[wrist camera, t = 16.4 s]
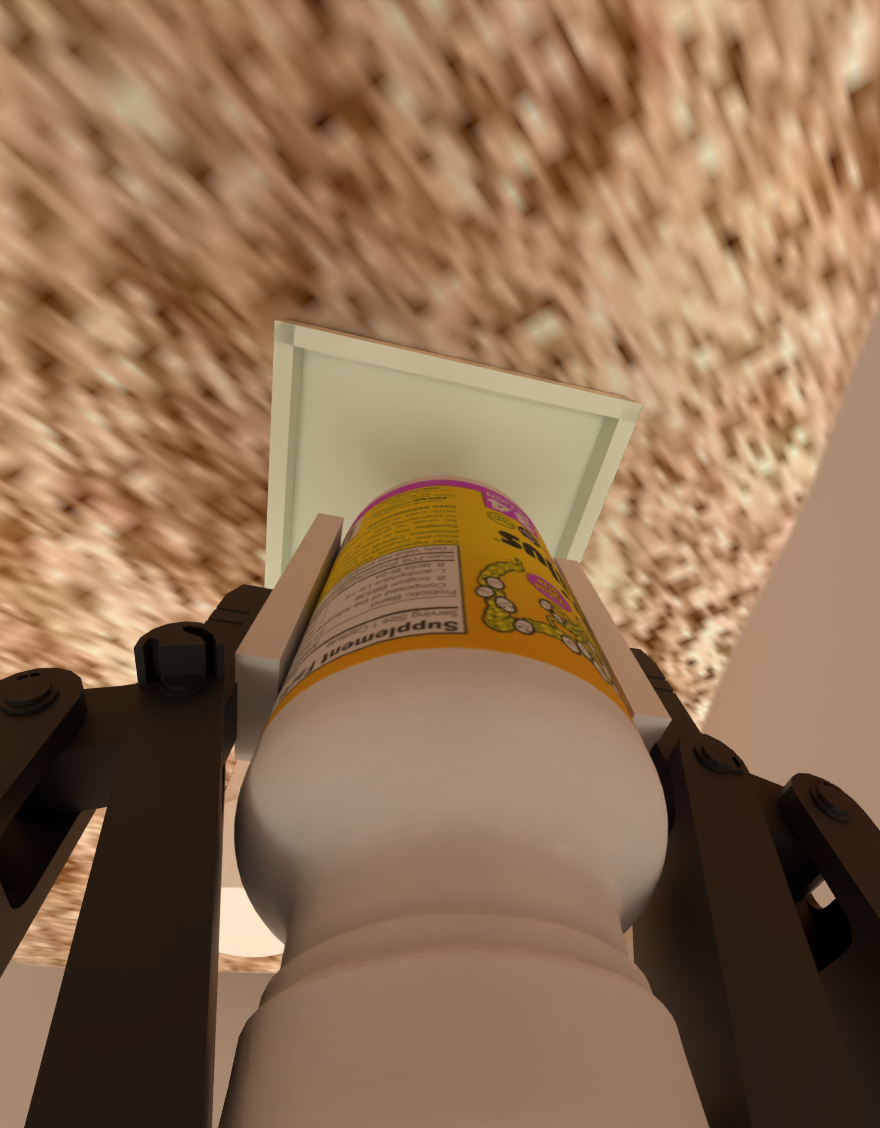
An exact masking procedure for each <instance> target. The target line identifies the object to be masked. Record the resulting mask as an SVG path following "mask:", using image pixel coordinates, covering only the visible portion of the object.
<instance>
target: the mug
mask: <svg viewBox="0 0 880 1128" xmlns="http://www.w3.org/2000/svg"><path fill="white" fill-rule="evenodd" d="M250 762H251V761H243V760H237V762H236V765H235V767H234V770H233V773H232V775H231V778H230V781H229V783H228V786H227V789H226V791H225V801H224V827H223V853H222V878H221V904H220V930H219V952H220V953H224V954H229V955H235V956H245V957H262V956H271V955H276V954H281V953H283V952H284V947H285V945H284V944H283V943H282V942H281V941H280V940H278V939H277V938H276V937H275V936H274V935H273V934H272V933H271V931H270V930H269V929H268V928H267V926H266V925H265V924H264V922H263V921H262V920H261V918H260V917H259V915H258V914H257V913H256V911H255V909H254V908H253V906H252V904H251V902H250V900H249V898H248V896H247V894H246V892H245V889H244V887H243V885H242V882H241V878H240V875H239V871H238V867H237V861H236V855H235V846H234V819H235V813H236V807H237V801H238V796H239V792H240V788H241V786H242V783H243V780H244V777H245V774H246V771H247V769H248V766H249V764H250Z"/></svg>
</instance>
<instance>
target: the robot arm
mask: <svg viewBox="0 0 880 1128" xmlns="http://www.w3.org/2000/svg"><path fill="white" fill-rule="evenodd" d="M343 521H344V518H343V517H338V516H333V515H327V514H322V513H318V515H317V516H316V518H315V520H314V521H313V523H312V525H311V526H310V528H309V530H308V531H307V533H306V535H305V537H304V538H303V540H302V542H301V543H300V545H299V547H298V548H297V550H296V552H295V553H294V555H293V557H292V558H291V560H290V562H289V563H288V565H287V567H286V568H285V570H284V572H283V574H282V575H281V577H280V579H279V580H278V582H277V584H276V585H275V587H274V589H269V588H263V587H257V586H251V585H245V584H243V585H242V586H240V587H238V588H236V589H235V590H233V591H231V592H229V593H227V594H226V595H225V597H224V598H223V599H222V601H221V602H220V603H219V605H218V606H217V609H216V610H214V611H213V613H212V614H211V615H210V617H209V619H208V621H206V622H205V623H204V624H203V623H198V622H178V623H170V624H166V625H163V626H160V627H158V628H155V629H152V630H151V631H149V632H148V633H146V634H145V635H143V636H142V637H141V638H140V639H139V640H138V642H137V644H136V645H135V647H134V654H135V662H136V670H137V678H138V683H136V684H130V685H124V686H115V687H103V688H91V689H83V685H82V681H81V678H80V677H79V676H77V675H76V674H75V673H73V672H72V671H69V670H64V669H60V668H37V669H33V670H28V671H24V672H20V673H16V674H14V675H11V676H9V677H7V678H5V679H2V680H0V977H1V976H2V974H3V972H4V970H5V969H6V967H7V965H8V963H9V962H10V960H11V958H12V956H13V955H14V953H15V951H16V949H17V948H18V946H19V944H20V942H21V941H22V939H23V937H24V935H25V934H26V932H27V930H28V928H29V927H30V925H31V923H32V921H33V919H34V918H35V916H36V914H37V912H38V911H39V909H40V907H41V905H42V904H43V902H44V900H45V898H46V897H47V895H48V893H49V891H50V890H51V888H52V886H53V884H54V883H55V881H56V879H57V877H58V876H59V874H60V872H61V870H62V869H63V867H64V865H65V863H66V862H67V860H68V858H69V856H70V855H71V853H72V851H73V849H74V847H75V846H76V844H77V842H78V840H79V839H80V837H81V835H82V833H83V832H84V830H85V828H86V826H87V825H88V823H89V821H90V819H91V818H92V816H93V814H94V812H95V811H96V809H97V808H103V807H107V810H106V813H105V817H104V821H103V825H102V829H101V833H100V837H99V840H98V844H97V848H96V852H95V856H94V860H93V864H92V868H91V871H90V875H89V879H88V883H87V887H86V891H85V895H84V898H83V902H82V906H81V910H80V914H79V918H78V922H77V926H76V929H75V933H74V937H73V941H72V945H71V949H70V953H69V956H68V960H67V964H66V968H65V972H64V976H63V980H62V984H61V988H60V992H59V995H58V999H57V1003H56V1007H55V1011H54V1014H53V1019H52V1022H51V1026H50V1030H49V1034H48V1038H47V1042H46V1046H45V1050H44V1053H43V1057H42V1061H41V1065H40V1069H39V1073H38V1076H37V1081H36V1084H35V1088H34V1092H33V1096H32V1100H31V1104H30V1108H29V1111H28V1115H27V1119H26V1123H25V1127H24V1128H212V1111H213V1084H214V1059H215V1033H216V1007H217V982H218V980H217V979H218V956H219V930H220V904H221V878H222V853H223V827H224V801H225V762H226V760H227V758H228V756H229V754H230V751H231V749H232V747H233V745H234V743H235V760H243V761H251V760H252V757H253V754H254V752H255V749H256V746H257V743H258V741H259V739H260V736H261V734H262V732H263V730H264V727H265V725H266V724H267V721H268V719H269V716H270V714H271V712H272V709H273V707H274V704H275V702H276V700H277V697H278V695H279V693H280V691H281V689H282V686H283V684H284V682H285V679H286V677H287V674H288V672H289V670H290V667H291V665H292V662H293V660H294V658H295V655H296V653H297V650H298V648H299V645H300V643H301V641H302V638H303V636H304V634H305V631H306V629H307V626H308V624H309V621H310V619H311V616H312V614H313V612H314V609H315V607H316V605H317V602H318V600H319V597H320V594H321V592H322V590H323V587H324V585H325V583H326V580H327V578H328V576H329V573H330V571H331V568H332V566H333V564H334V561H335V559H336V556H337V554H338V551H339V549H340V546H341V538H342V530H343ZM554 563H555V565H556V567H557V569H558V570H559V572H560V575H561V577H562V578H563V580H564V583H565V585H566V587H567V589H568V591H569V593H570V595H571V597H572V599H573V601H574V603H575V605H576V607H577V609H578V611H579V614H580V616H581V618H582V620H583V622H584V624H585V626H586V628H587V630H588V632H589V634H590V636H591V638H592V640H593V642H594V644H595V646H596V648H597V650H598V652H599V654H600V656H601V658H602V660H603V662H604V664H605V666H606V668H607V670H608V672H609V674H610V676H611V678H612V680H613V682H614V685H615V687H616V689H617V691H618V693H619V695H620V697H621V698H622V700H623V702H624V704H625V706H626V708H627V710H628V712H629V714H630V716H631V718H632V720H633V722H634V724H635V726H636V728H637V730H638V732H639V734H640V736H641V738H642V740H643V742H644V745H645V747H646V749H647V751H648V753H649V755H650V757H651V759H652V761H653V764H654V766H655V768H656V771H657V774H658V777H659V779H660V782H661V785H662V788H663V793H664V798H665V803H666V808H667V816H668V840H667V849H666V855H665V861H664V865H663V869H662V872H661V876H660V879H659V882H658V884H657V887H656V889H655V891H654V893H653V895H652V897H651V899H650V901H649V903H648V904H647V906H646V908H645V909H644V910H643V912H642V913H641V914H640V916H639V917H638V918H637V920H636V921H635V922H634V923H633V924H632V925H633V948H634V963H635V964H636V965H637V967H638V968H639V969H640V970H641V971H642V973H643V974H644V975H645V977H646V979H647V981H648V983H649V985H650V988H651V991H652V993H653V995H654V996H655V997H656V998H657V999H658V1000H659V1001H660V1002H662V1003H663V1005H664V1006H665V1007H666V1009H667V1010H668V1011H669V1013H670V1014H671V1015H672V1017H673V1019H674V1021H675V1023H676V1025H677V1029H678V1032H679V1035H680V1039H681V1042H682V1046H683V1049H684V1053H685V1056H686V1059H687V1062H688V1065H689V1068H690V1071H691V1074H692V1077H693V1080H694V1083H695V1086H696V1089H697V1092H698V1095H699V1098H700V1101H701V1104H702V1107H703V1110H704V1113H705V1116H706V1119H707V1122H708V1125H709V1128H880V830H879V829H878V828H877V827H876V826H875V824H874V823H873V821H872V820H871V819H870V818H869V816H868V815H867V814H866V813H865V812H864V810H863V809H862V808H861V807H860V806H859V805H858V804H857V803H856V802H855V801H854V800H853V799H852V798H851V797H850V796H848V795H847V794H846V793H844V792H843V791H842V790H841V789H840V788H839V787H837V786H836V785H834V784H831V783H830V782H828V781H826V780H824V779H822V778H819V777H817V776H814V775H811V774H806V773H798V774H796V775H794V776H793V777H792V778H791V779H790V780H789V781H788V783H787V784H786V785H785V786H784V787H783V786H781V785H778V784H776V783H773V782H771V781H768V780H766V779H763V778H760V777H758V776H755V775H753V774H750V773H749V771H748V769H747V767H746V766H745V764H744V762H743V761H742V760H741V759H740V757H739V756H738V755H737V754H736V753H735V752H734V751H733V750H732V749H730V748H729V747H727V746H726V745H725V744H723V743H722V742H721V741H719V740H717V739H715V738H713V737H711V736H709V735H706V734H702V733H700V731H699V729H698V728H697V726H696V725H695V723H694V722H693V720H692V719H691V717H690V716H689V714H688V712H687V711H686V709H685V708H684V706H683V705H682V703H681V702H680V700H679V698H678V697H677V695H676V694H675V693H673V689H672V688H671V686H670V685H669V683H668V681H665V677H664V675H663V674H662V672H661V671H660V669H659V667H658V666H657V664H656V663H655V662H654V661H653V660H652V659H650V658H649V657H648V656H647V655H646V654H645V653H644V652H643V651H642V650H640V649H634V648H629V647H628V645H627V643H626V642H625V640H624V638H623V636H622V635H621V633H620V631H619V630H618V628H617V626H616V625H615V623H614V621H613V620H612V618H611V616H610V615H609V613H608V611H607V610H606V608H605V606H604V605H603V603H602V601H601V599H600V598H599V596H598V594H597V593H596V591H595V589H594V588H593V586H592V584H591V583H590V581H589V579H588V578H587V576H586V574H585V573H584V571H583V569H582V568H581V566H580V564H579V562H578V561H573V560H568V559H563V558H557V557H555V559H554ZM824 880H825V881H826V883H827V884H828V886H829V888H830V890H831V891H832V893H833V894H834V896H835V898H836V899H835V900H833V901H832V902H831V903H830V904H829V905H828V906H827V907H825V908H822V907H821V906H819V904H818V903H817V902H816V900H815V899H814V897H813V895H812V894H811V892H812V891H813V890H814V889H815V888H816V887H818V886H819V885H820V884H821V883H822V882H823V881H824Z"/></svg>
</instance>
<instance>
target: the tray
mask: <svg viewBox="0 0 880 1128" xmlns="http://www.w3.org/2000/svg"><path fill="white" fill-rule="evenodd" d="M642 407H643V404H641V403H639V402H636V401H634V400H631V399H629V398H627V397H624V396H619V395H615V394H610V393H606V392H602V391H597V390H593V389H589V388H584V387H580V386H576V385H571V384H567V383H563V382H558V381H554V380H549V379H545V378H541V377H536V376H532V375H528V374H523V373H519V372H515V371H510V370H506V369H502V368H497V367H493V366H489V365H484V364H480V363H475V362H471V361H467V360H462V359H458V358H454V357H449V356H445V355H441V354H436V353H432V352H428V351H423V350H419V349H414V348H410V347H406V346H401V345H397V344H393V343H388V342H384V341H380V340H375V339H371V338H367V337H362V336H358V335H354V334H349V333H345V332H340V331H336V330H332V329H327V328H323V327H319V326H314V325H310V324H306V323H301V322H297V321H293V320H275V321H274V348H273V375H272V402H271V429H270V456H269V483H268V509H267V536H266V563H265V588H269V589H274V587H275V585H276V584H277V582H278V580H279V579H280V577H281V575H282V574H283V572H284V570H285V568H286V567H287V565H288V563H289V562H290V560H291V558H292V557H293V555H294V553H295V552H296V550H297V548H298V547H299V545H300V543H301V542H302V540H303V538H304V537H305V535H306V533H307V531H308V530H309V528H310V526H311V525H312V523H313V521H314V520H315V518H316V516H317V515H318V513H322V514H327V515H333V516H338V517H343V518H344V521H343V530H342V538H341V545H342V542H343V540H344V538H345V536H346V534H347V532H348V531H349V529H350V527H351V525H352V524H353V522H354V520H355V519H356V518H357V516H358V515H359V514H360V512H361V511H362V510H363V509H364V508H365V507H366V506H367V505H368V504H369V503H370V502H371V501H373V500H374V499H375V498H376V497H378V496H379V495H381V494H382V493H384V492H385V491H387V490H389V489H391V488H393V487H395V486H397V485H399V484H401V483H403V482H406V481H408V480H412V479H415V478H419V477H425V476H435V475H451V476H461V477H465V478H470V479H474V480H478V481H480V482H483V483H486V484H488V485H490V486H492V487H494V488H496V489H498V490H500V491H501V492H503V493H504V494H506V495H507V496H509V497H510V498H511V499H513V500H514V501H515V502H516V503H517V504H518V505H519V506H520V507H521V508H522V509H523V510H524V511H525V512H526V514H527V515H528V516H529V518H530V519H531V520H532V522H533V523H534V525H535V527H536V528H537V530H538V532H539V534H540V535H541V537H542V539H543V541H544V543H545V545H546V547H547V549H548V551H549V553H550V555H551V557H552V559H553V561H554V559H555V557H557V558H563V559H568V560H573V561H578V562H579V564H580V562H581V560H582V557H583V555H584V552H585V550H586V547H587V545H588V542H589V540H590V537H591V535H592V532H593V530H594V527H595V525H596V522H597V520H598V517H599V515H600V512H601V510H602V507H603V505H604V502H605V500H606V497H607V495H608V492H609V490H610V487H611V485H612V482H613V480H614V477H615V475H616V472H617V470H618V467H619V465H620V462H621V460H622V457H623V454H624V452H625V449H626V447H627V444H628V442H629V439H630V437H631V434H632V432H633V429H634V427H635V424H636V422H637V419H638V417H639V414H640V412H641V409H642ZM340 547H341V546H340Z"/></svg>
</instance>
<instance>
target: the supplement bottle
mask: <svg viewBox="0 0 880 1128" xmlns="http://www.w3.org/2000/svg"><path fill="white" fill-rule="evenodd" d="M667 840H668V816H667V808H666V803H665V798H664V793H663V788H662V785H661V782H660V779H659V777H658V774H657V771H656V768H655V766H654V764H653V761H652V759H651V757H650V755H649V753H648V751H647V749H646V747H645V745H644V742H643V740H642V738H641V736H640V734H639V732H638V730H637V728H636V726H635V724H634V722H633V720H632V718H631V716H630V714H629V712H628V710H627V708H626V706H625V704H624V702H623V700H622V698H621V697H620V695H619V693H618V691H617V689H616V687H615V685H614V682H613V680H612V678H611V676H610V674H609V672H608V670H607V668H606V666H605V664H604V662H603V660H602V658H601V656H600V654H599V652H598V650H597V648H596V646H595V644H594V642H593V640H592V638H591V636H590V634H589V632H588V630H587V628H586V626H585V624H584V622H583V620H582V618H581V616H580V614H579V611H578V609H577V607H576V605H575V603H574V601H573V599H572V597H571V595H570V593H569V591H568V589H567V587H566V585H565V583H564V580H563V578H562V577H561V575H560V572H559V570H558V569H557V567H556V565H555V563H554V561H553V559H552V557H551V555H550V553H549V551H548V549H547V547H546V545H545V543H544V541H543V539H542V537H541V535H540V534H539V532H538V530H537V528H536V527H535V525H534V523H533V522H532V520H531V519H530V518H529V516H528V515H527V514H526V512H525V511H524V510H523V509H522V508H521V507H520V506H519V505H518V504H517V503H516V502H515V501H514V500H513V499H511V498H510V497H509V496H507V495H506V494H504V493H503V492H501V491H500V490H498V489H496V488H494V487H492V486H490V485H488V484H486V483H483V482H480V481H478V480H474V479H470V478H465V477H461V476H451V475H435V476H425V477H419V478H415V479H412V480H408V481H406V482H403V483H401V484H399V485H397V486H395V487H393V488H391V489H389V490H387V491H385V492H384V493H382V494H381V495H379V496H378V497H376V498H375V499H374V500H373V501H371V502H370V503H369V504H368V505H367V506H366V507H365V508H364V509H363V510H362V511H361V512H360V514H359V515H358V516H357V518H356V519H355V520H354V522H353V524H352V525H351V527H350V529H349V531H348V532H347V534H346V536H345V538H344V540H343V542H342V545H341V547H340V549H339V551H338V554H337V556H336V559H335V561H334V564H333V566H332V568H331V571H330V573H329V576H328V578H327V580H326V583H325V585H324V587H323V590H322V592H321V594H320V597H319V600H318V602H317V605H316V607H315V609H314V612H313V614H312V616H311V619H310V621H309V624H308V626H307V629H306V631H305V634H304V636H303V638H302V641H301V643H300V645H299V648H298V650H297V653H296V655H295V658H294V660H293V662H292V665H291V667H290V670H289V672H288V674H287V677H286V679H285V682H284V684H283V686H282V689H281V691H280V693H279V695H278V697H277V700H276V702H275V704H274V707H273V709H272V712H271V714H270V716H269V719H268V721H267V724H266V725H265V727H264V730H263V732H262V734H261V736H260V739H259V741H258V743H257V746H256V749H255V752H254V754H253V757H252V760H251V762H250V764H249V766H248V769H247V771H246V774H245V777H244V780H243V783H242V786H241V788H240V792H239V796H238V801H237V807H236V813H235V819H234V846H235V855H236V861H237V867H238V871H239V875H240V878H241V882H242V885H243V887H244V889H245V892H246V894H247V896H248V898H249V900H250V902H251V904H252V906H253V908H254V909H255V911H256V913H257V914H258V915H259V917H260V918H261V920H262V921H263V922H264V924H265V925H266V926H267V928H268V929H269V930H270V931H271V933H272V934H273V935H274V936H275V937H276V938H277V939H278V940H280V941H281V942H282V943H283V944H284V945H285V947H284V952H283V957H282V963H281V968H280V970H279V971H278V972H277V973H276V974H275V975H274V976H273V977H272V979H271V980H270V982H269V983H268V985H267V987H266V989H265V991H264V993H263V995H262V997H261V1001H260V1004H259V1008H258V1010H257V1011H256V1012H255V1013H254V1014H253V1015H252V1016H251V1017H250V1018H249V1019H248V1020H247V1022H246V1024H245V1026H244V1028H243V1030H242V1032H241V1034H240V1036H239V1039H238V1044H237V1048H236V1053H235V1058H234V1062H233V1067H232V1071H231V1076H230V1081H229V1086H228V1090H227V1094H226V1098H225V1102H224V1106H223V1110H222V1114H221V1118H220V1122H219V1126H218V1128H709V1125H708V1122H707V1119H706V1116H705V1113H704V1110H703V1107H702V1104H701V1101H700V1098H699V1095H698V1092H697V1089H696V1086H695V1083H694V1080H693V1077H692V1074H691V1071H690V1068H689V1065H688V1062H687V1059H686V1056H685V1053H684V1049H683V1046H682V1042H681V1039H680V1035H679V1032H678V1029H677V1025H676V1023H675V1021H674V1019H673V1017H672V1015H671V1014H670V1013H669V1011H668V1010H667V1009H666V1007H665V1006H664V1005H663V1003H662V1002H660V1001H659V1000H658V999H657V998H656V997H655V996H654V995H653V993H652V991H651V988H650V985H649V983H648V981H647V979H646V977H645V975H644V974H643V973H642V971H641V970H640V969H639V968H638V967H637V965H636V964H635V963H634V962H633V961H632V960H631V959H630V958H629V957H628V952H627V947H626V943H625V939H624V936H623V934H624V933H625V932H626V931H627V930H628V929H629V928H630V927H631V925H632V924H633V923H634V922H635V921H636V920H637V918H638V917H639V916H640V914H641V913H642V912H643V910H644V909H645V908H646V906H647V904H648V903H649V901H650V899H651V897H652V895H653V893H654V891H655V889H656V887H657V884H658V882H659V879H660V876H661V872H662V869H663V865H664V861H665V855H666V849H667Z"/></svg>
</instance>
